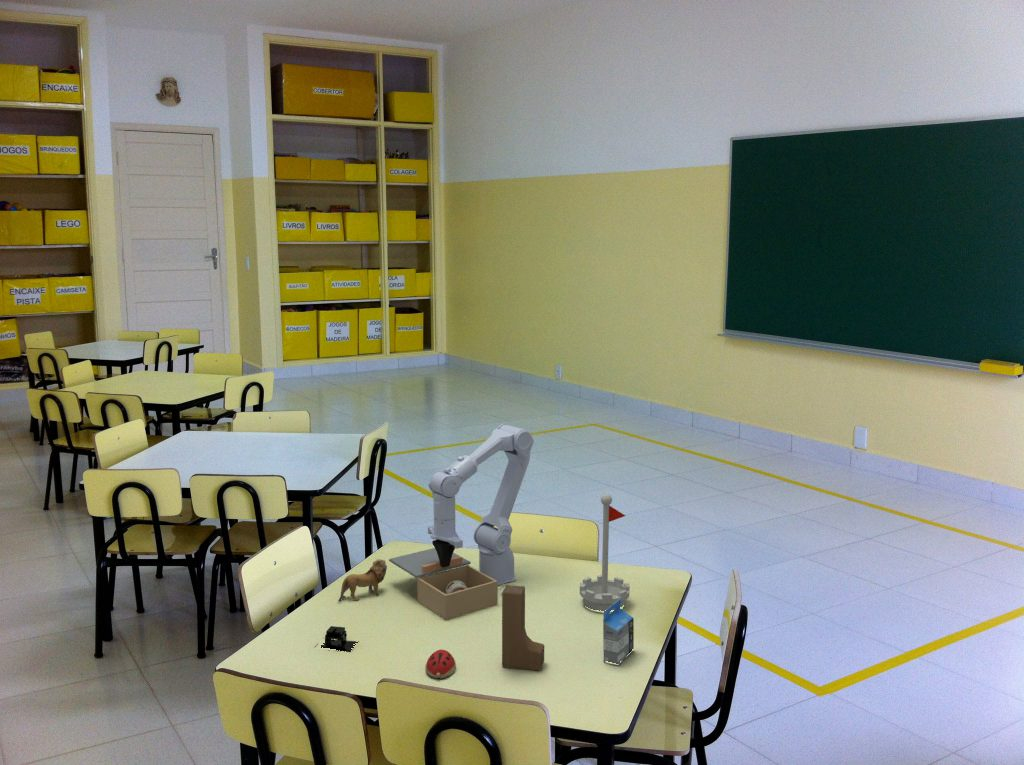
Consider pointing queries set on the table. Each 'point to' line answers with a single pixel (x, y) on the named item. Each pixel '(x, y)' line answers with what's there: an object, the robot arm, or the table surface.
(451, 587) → the roller toy
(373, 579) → the lion figurine
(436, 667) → the ladybug figurine
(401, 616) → the table surface
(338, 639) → the black piece
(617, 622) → the label tape box
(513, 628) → the wooden block
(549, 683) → the table surface
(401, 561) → the sliding lid
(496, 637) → the table surface
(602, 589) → the flag stand
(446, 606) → the box
